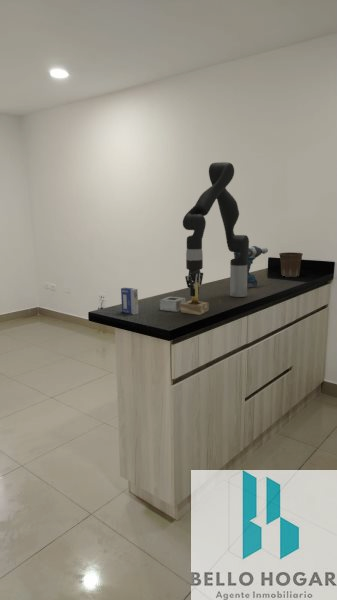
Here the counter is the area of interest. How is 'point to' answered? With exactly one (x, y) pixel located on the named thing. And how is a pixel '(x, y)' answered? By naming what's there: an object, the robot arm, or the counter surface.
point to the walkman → (129, 300)
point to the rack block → (195, 307)
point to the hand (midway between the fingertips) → (194, 295)
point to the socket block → (171, 303)
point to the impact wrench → (252, 255)
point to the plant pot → (290, 264)
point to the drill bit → (195, 299)
